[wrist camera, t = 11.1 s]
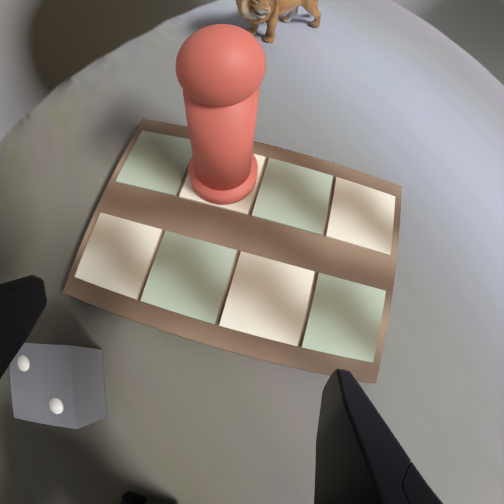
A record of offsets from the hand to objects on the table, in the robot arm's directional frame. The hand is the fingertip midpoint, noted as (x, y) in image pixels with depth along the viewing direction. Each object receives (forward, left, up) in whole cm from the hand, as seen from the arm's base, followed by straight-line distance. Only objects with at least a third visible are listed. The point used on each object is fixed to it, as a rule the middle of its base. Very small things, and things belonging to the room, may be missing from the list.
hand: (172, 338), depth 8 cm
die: (-6, +9, -13) cm, 17 cm away
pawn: (+12, +3, -12) cm, 17 cm away
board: (+8, 0, -13) cm, 16 cm away
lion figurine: (+36, +3, -14) cm, 39 cm away
